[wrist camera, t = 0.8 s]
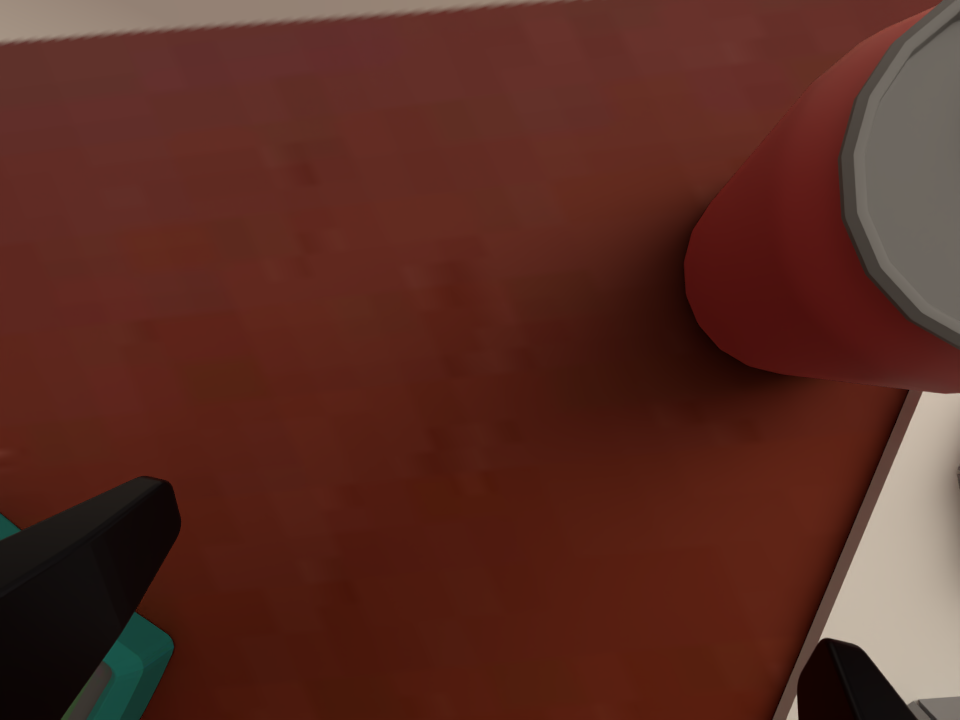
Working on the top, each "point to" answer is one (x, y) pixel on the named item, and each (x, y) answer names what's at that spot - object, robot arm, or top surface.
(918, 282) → the beer can
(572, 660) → the top surface
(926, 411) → the board
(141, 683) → the digital multimeter
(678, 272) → the top surface
